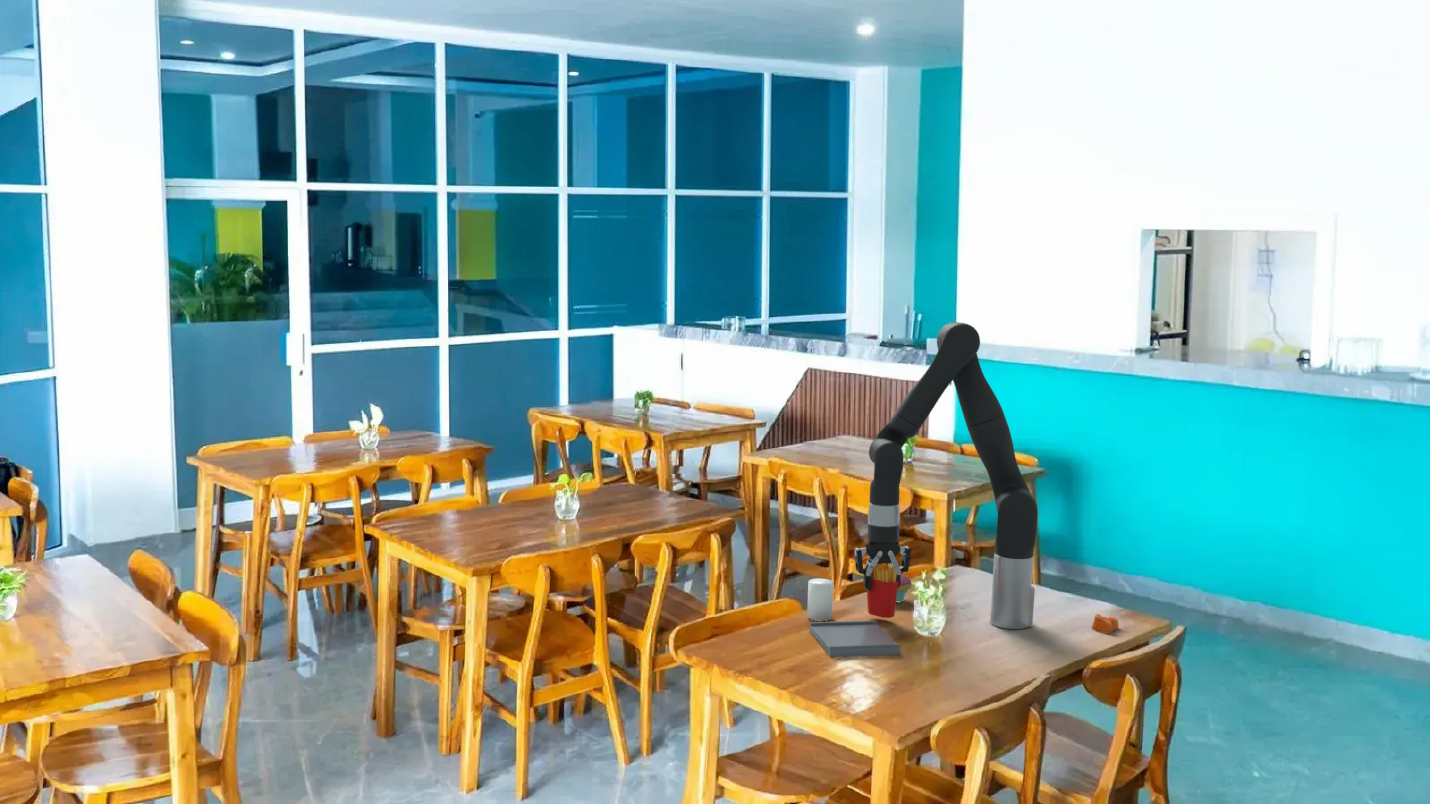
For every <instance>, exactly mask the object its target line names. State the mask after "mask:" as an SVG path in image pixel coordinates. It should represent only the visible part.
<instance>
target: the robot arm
mask: <svg viewBox="0 0 1430 804" xmlns="http://www.w3.org/2000/svg"><path fill="white" fill-rule="evenodd" d="M980 345H981V337H980V334H979V332H978V330H976V328H975V327H974V326H973V325H970V324H968V323H965V322H949V323H947V324H945V325H943V326H942V327H941V329H939V331H938V334H937V337H936V346H937V352H936V355H935V357H933V361H932V362H931V363H930V365H929V366H928V368H927V370H926V371H925V373H924V374H923V375H922V376H921V377H920V379H919V380H918V381H917V382H916V383H915V384H914V385H913V387H912V388H911V389H910V391H909V392H908V393H907V394H906V395H905V397H904V399H903V400H902V401H901V403H900V404H899V406H898V407H897V408H896V411H895V412H894V414H893V415H892V417H891V419H890V420H889V421H888V422H887V423H886V424H885V425H884V427H883V428H881V430H880V431H879V432H878V433H877V434H876V435H875V437H874V438H873V440H872V442H871V443H870V445H869V447H868V448H869V449H868V457H869V459H870V461H871V462H872V463H873V464H874V468H873V469H874V470H873V479H872V480H871V482H870V487H869V505H868V512H867V537H866V538H867V539H866V540H867V541H866V545H865V547H860V548H859V547H854V548H853V553H854V554H853V556H854V565H855V570H856V572H857V573H859V574H860V575H863V580H862V581H863V583H862V585H863V588H864V589H865V590H866V592H867V591H871V576H870V574H871V572H872V571H873V569H874V568H875V567H877V565H882V564H886V565H888V564H890V565H891V568H893V569H894V571H896V572H897V574H896V580H897V581H898V587H900V576H901V574H904V573H908V572H909V568H910V562H911V556H912V548H910V547H909V546H908V545H904V546H900V544H899V543H900V521H901V516H900V515H901V512H900V484H901V479H902V474H903V468H904V452H903V449H902V448H903V447H904V445H906V443H907V441H908V440H910V439H911V438H912V439H913V438H914V437H915V436H916V435H917V434H918V433H919V431H920V429H921V428H922V427H923V425H924V424H925V422H926V420H927V419H928V417H929V415H930V414H931V412H932V410H934V408H935V406H936V405H937V403H938V402H939V400H940V398H941V397H942V395H943V394H944V393H945V391H946V389H947V388H948V386H949V385H950V384H951V382H952V381H953V385H954V387H955V390H956V395H957V399H958V401H959V406H960V409H961V412H962V416H963V418H964V422H965V425H966V429H967V431H968V433H969V436H970V439H971V442H972V444H973V446H974V448H975V451H976V453H977V454H978V455H977V456H979V458H980V460H981V463H982V464H983V466H984V468H985V470H986V473H987V474H988V477H989V481H990V485H991V489H992V493H993V498H994V501H995V509H996V512H997V516H996V517H997V518H996V519H997V520H996V533H995V534H996V536H995V542H994V551H993V552H994V553H993V569H992V583H991V585H992V586H991V601H990V602H991V604H990V615H989V616H990V618H989V619H990V620H989V622H990V624H991V625H993V626H995V627H998V628H1000V629H1001V628H1003V629H1006V630H1007V629H1008V630H1009V629H1010V630H1019V629H1022V630H1023V629H1026V628H1030V627H1031V628H1032V627H1033V623H1034V607H1035V606H1034V605H1035V595H1036V594H1035V593H1036V591H1035V590H1036V589H1035V587H1034V586H1032V585H1033V584H1032V583H1033V572H1034V571H1033V569H1034V568H1033V567H1034V553H1035V547H1036V540H1037V532H1038V531H1037V528H1038V527H1037V526H1038V515H1039V514H1038V505H1037V502H1036V500H1035V498H1034V496H1033V494H1032V493H1031V491H1030V489H1029V488H1028V485H1027V484H1026V481H1025V480H1024V477H1023V475H1022V472H1021V470H1020V467H1019V466H1018V462H1017V457H1016V452H1015V447H1014V442H1013V438H1012V434H1011V429H1010V427H1009V423H1008V421H1007V418H1006V416H1005V413H1004V410H1003V408H1002V406H1001V403H1000V402H999V399H998V397H997V395H996V394H995V392H994V390H993V389H992V387H991V385H990V384H989V382H988V380H987V378H986V376H985V375H984V373H983V369H982V368H981V367H982V366H981V363H980V361H979V356H978V351H979V349H980V347H981V346H980ZM865 553H866V554H867V555H868V558H867V560H866V562H865V565H864V563H863V562H864V561H863V558H864V557H865ZM899 554H900V555H901V561H900V562H901V563H900V566H899V563H898V561H897V559H896V557H897V555H899ZM897 590H898V589H897Z"/></svg>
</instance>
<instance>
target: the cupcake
mask: <svg viewBox="0 0 1430 804" xmlns="http://www.w3.org/2000/svg"><path fill="white" fill-rule="evenodd" d="M887 565H888V567H891V565H890V564H887ZM891 568H892V567H891ZM912 585H913V583H912V579H910V578H909V577H908V576H907V575H906V574H904V573H902V574H901V576H900V587H898V590H897V597H896V601H902V600H903V601H904V599H905V596H906V594H907V592H908V590H909V591H910V590H911V589H912ZM903 601H902V602H903Z"/></svg>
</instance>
